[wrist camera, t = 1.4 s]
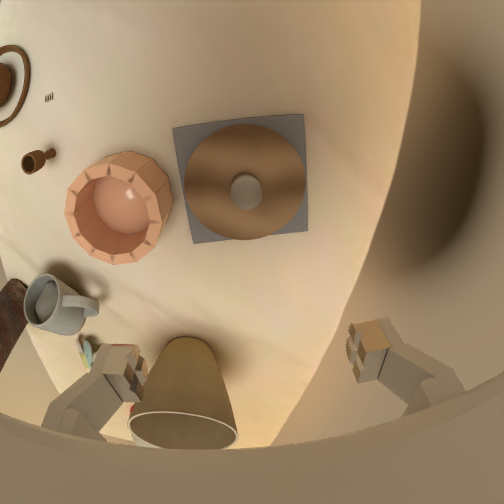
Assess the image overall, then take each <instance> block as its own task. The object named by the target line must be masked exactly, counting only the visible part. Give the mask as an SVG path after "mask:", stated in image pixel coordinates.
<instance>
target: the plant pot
mask: <svg viewBox="0 0 504 504" xmlns="http://www.w3.org/2000/svg"><path fill="white" fill-rule="evenodd" d="M142 386H143V388H144V394H143V398H142V402H135V404H134V406H133V409H132V412H131V414H130V417H129V420H128V423H127V425H128V428H129V430H130V432H131V433H132V434H133V435H134V436H136V437H137V438H138V439H140V440H142V441H143V442H145V443H148V444H150V445H152V446H155V447H158V448H165V449H188V450H219V449H226V448H229V447H231V446H232V445H234V444H235V443H236V442H237V440H238V433H237V428H236V424H235V419H234V415H233V411H232V407H231V403H230V400H229V396H228V393H227V390H226V387H225V384H224V381H223V378H222V375H221V373H220V370H219V368H218V365H217V363H216V360H215V358H214V356H213V354H212V352H211V350H210V348H209V346H208V345H207V344H206V343H204V342H203V341H201V340H199V339H196V338H191V337H181V338H177V339H174V340H172V341H171V342H170V343H169V344H168V345H167V347H166V348H165V349H164V351H163V352H162V353H161V355H160V356H159V358H158V359H157V361H156V362H155V364H154V366H153V367H152V369H151V370H150V372H149V374H148V376H147V381H146V382H144V383H143V385H142Z"/></svg>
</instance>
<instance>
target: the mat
mask: <svg viewBox="0 0 504 504" xmlns="http://www.w3.org/2000/svg"><path fill="white" fill-rule="evenodd" d="M238 124H252V125H258V126H263V127H266V128H268V129H271V130H273V131H275V132H276V133H278V134H280V135H281V136H282V137H284V138H285V139H286V140H287V141H288V142H289V143H290V144H291V145H292V146H293V147H294V149H295V150H296V151H297V153H298V155H299V156H300V158H301V161H302V163H303V166H304V170H305V178H306V186H305V193H304V197H303V200H302V203H301V205H300V207H299V209H298V210H297V212H296V214H295V215H294V216H293V217H292V219H291V220H290V221H289V222H288V223H287V224H286V225H285V226H283V227H282V228H281V229H279V230H277V231H276V232H274V233H272V234H270V235H275V234H284V233H293V232H303V231H308V203H307V168H306V146H305V127H304V114H297V115H278V116H264V117H252V118H242V119H233V120H225V121H217V122H210V123H203V124H197V125H190V126H184V127H179V128H173V136H174V142H175V148H176V154H177V160H178V166H179V172H180V177H181V183H182V188H183V194H184V199H185V204H186V209H187V214H188V219H189V224H190V229H191V234H192V239H193V243H194V244H196V243H205V242H213V241H222V240H230V238H227V237H223V236H221V235H218V234H216V233H214V232H212V231H211V230H209V229H208V228H206V227H205V226H204V225H203V224H202V223H201V222H200V221H199V220H198V219H197V218H196V217H195V215H194V214H193V212H192V211H191V209H190V207H189V205H188V202H187V200H186V196H185V190H184V176H185V170H186V167H187V164H188V161H189V159H190V157H191V155H192V154H193V152H194V151H195V149H196V148H197V147H198V146H199V144H200V143H201V142H202V141H203V140H204V139H206V138H207V137H208V136H209V135H211V134H212V133H214V132H216V131H218V130H220V129H222V128H225V127H228V126H232V125H238Z"/></svg>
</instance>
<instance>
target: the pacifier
mask: <svg viewBox="0 0 504 504" xmlns="http://www.w3.org/2000/svg"><path fill="white" fill-rule="evenodd" d="M76 343H77V346H78V349H79V351H80V352H79V353H80V356H81V359H82V361H83V363H84V366H85V368H89V367H90V369H91V368H92V365H93V363H94V360H95V358H96V355H97V353H98V351H99V350H97V352H94V353H92V350H91V345H90V343H89V342H88V341H87V340H85V341H84V342H83V349H82V346H81V344H80V342H79V340H78V339H76ZM87 353H88V354H87Z"/></svg>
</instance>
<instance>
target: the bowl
mask: <svg viewBox="0 0 504 504" xmlns="http://www.w3.org/2000/svg"><path fill="white" fill-rule="evenodd" d="M172 204H173V198H172V193H171V188H170V183H169V178H168V177H167V176H166V174H165V173H164V172H163V171H162V170H161V169H160V167H159V166H158V165H157V164H156V163H155V162H154V160H153V159H151V158H148V157H146V156H143V155H140V154H137V153H134V152H131V151H127V152H123V153H118V154H114V155H110V156H107V157H105V158H103V159H101V160H100V161H98V162H96V163H94V164H93V165H91V166H89V167H87V168H86V169H84V170H83V171H82V172H81V174H80V175H79V176H78V177H77V178H76V179H75V181H74V182H73V183H72V184H71V186H70V187H69V188H68V192H67V199H66V206H65V216H66V219H67V222H68V225H69V228H70V231H71V234H72V237H73V238H74V239H75V240H76V241H77V243H78V244H79V245H80V246H81V247H82V248H83V249H84V250H85V251H86V252H87V253H88V254H89V255H91V256H92V257H94V258H97V259H99V260H102V261H105V262H107V263H110V264H112V265H116V264H124V263H133V262H137V261H138V260H139V259H141V258H142V257H143V256H144V255H146V254H147V253H148V252H149V251H151V250H152V249H153V248H154V247H155V245H156V243H157V241H158V239H159V237H160V234H161V232H162V230H163V228H164V226H165V224H166V221H167V218H168V216H169V213H170V210H171V207H172Z"/></svg>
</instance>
